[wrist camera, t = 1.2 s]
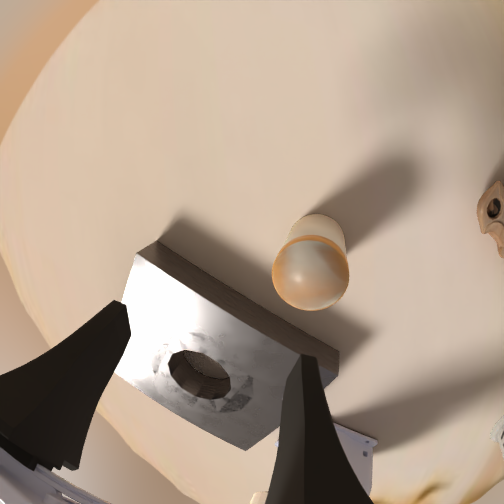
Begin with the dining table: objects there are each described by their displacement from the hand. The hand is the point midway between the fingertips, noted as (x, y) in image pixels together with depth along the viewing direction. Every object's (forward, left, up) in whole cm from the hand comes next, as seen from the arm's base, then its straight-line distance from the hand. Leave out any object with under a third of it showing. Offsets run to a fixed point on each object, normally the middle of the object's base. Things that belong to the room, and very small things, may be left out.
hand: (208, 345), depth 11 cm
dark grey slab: (-1, +13, -12) cm, 17 cm away
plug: (-3, -2, -12) cm, 12 cm away
